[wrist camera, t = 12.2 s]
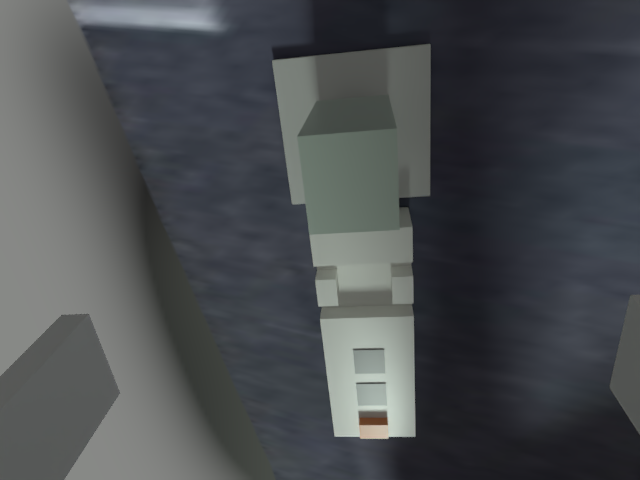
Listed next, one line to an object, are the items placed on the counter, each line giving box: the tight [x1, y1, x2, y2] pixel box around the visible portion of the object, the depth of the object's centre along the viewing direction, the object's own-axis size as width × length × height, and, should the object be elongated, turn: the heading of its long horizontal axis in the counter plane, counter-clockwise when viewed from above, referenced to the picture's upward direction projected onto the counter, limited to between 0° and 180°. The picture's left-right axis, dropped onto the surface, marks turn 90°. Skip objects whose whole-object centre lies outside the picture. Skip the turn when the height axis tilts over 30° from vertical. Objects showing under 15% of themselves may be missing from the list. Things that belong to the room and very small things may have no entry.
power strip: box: [310, 207, 415, 439], centre depth 37 cm, size 20×7×4 cm, turn 6°
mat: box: [272, 44, 431, 204], centre depth 31 cm, size 10×10×1 cm
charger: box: [297, 95, 400, 235], centre depth 26 cm, size 5×4×10 cm
